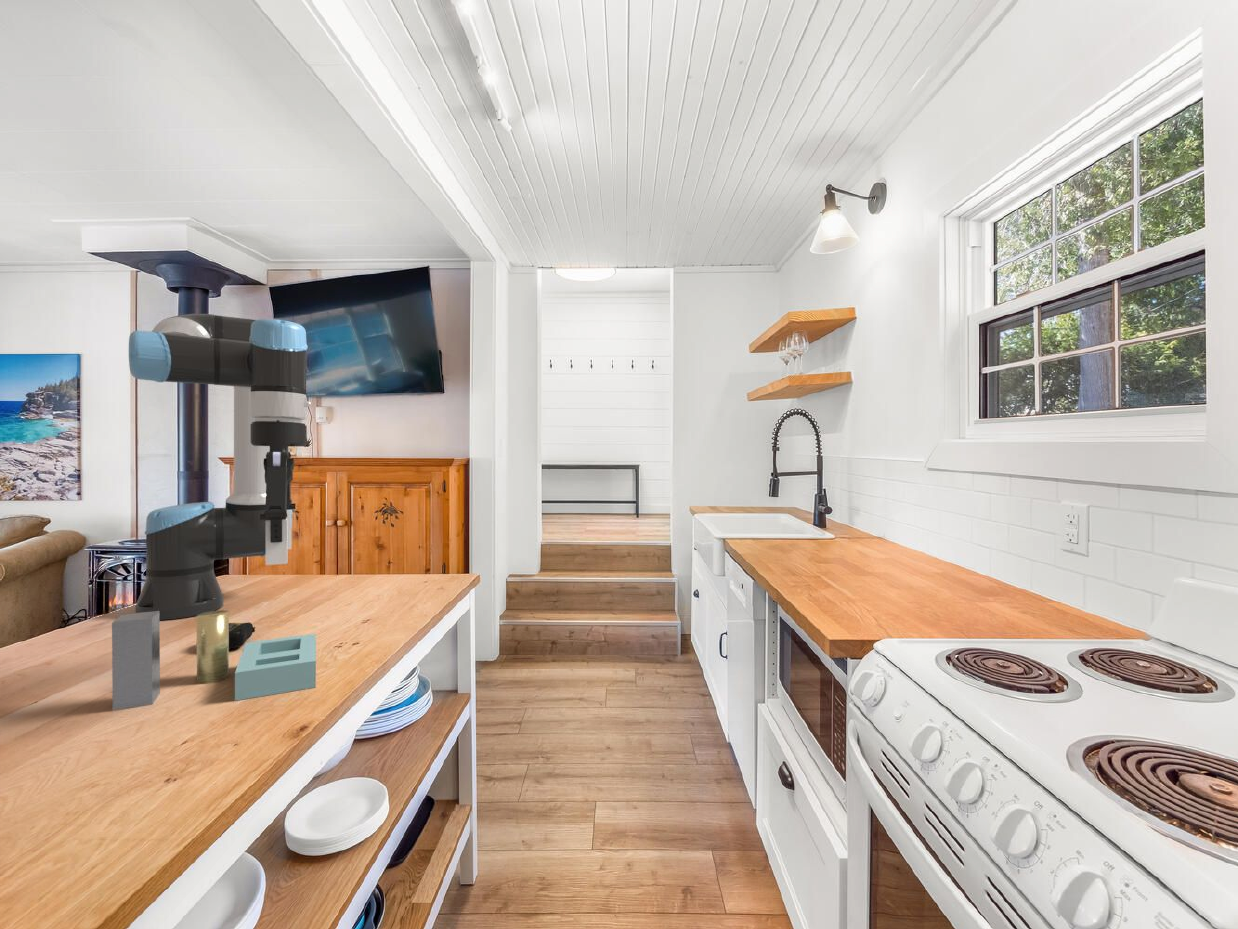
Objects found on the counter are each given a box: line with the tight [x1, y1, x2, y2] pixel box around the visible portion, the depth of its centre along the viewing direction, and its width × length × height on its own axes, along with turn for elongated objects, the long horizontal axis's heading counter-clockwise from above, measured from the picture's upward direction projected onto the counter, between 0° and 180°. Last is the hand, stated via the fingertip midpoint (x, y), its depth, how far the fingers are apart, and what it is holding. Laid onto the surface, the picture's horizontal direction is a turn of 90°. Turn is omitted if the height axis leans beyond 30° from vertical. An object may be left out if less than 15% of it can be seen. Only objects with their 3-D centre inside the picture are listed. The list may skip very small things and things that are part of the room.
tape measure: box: [229, 622, 256, 650], centre depth 100 cm, size 7×7×4 cm
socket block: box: [234, 633, 317, 702], centre depth 87 cm, size 14×10×4 cm
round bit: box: [196, 609, 230, 684], centre depth 86 cm, size 4×4×10 cm
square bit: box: [111, 611, 161, 712], centre depth 78 cm, size 4×4×12 cm
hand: (279, 556), depth 87 cm, fingers open, 13 cm apart
